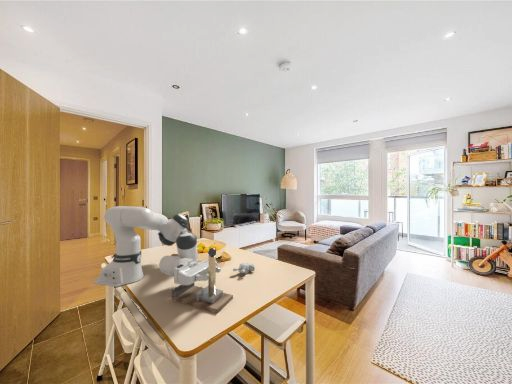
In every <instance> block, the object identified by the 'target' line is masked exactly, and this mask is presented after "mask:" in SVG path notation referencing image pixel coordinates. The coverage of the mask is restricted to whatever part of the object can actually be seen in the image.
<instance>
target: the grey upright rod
mask: <svg viewBox="0 0 512 384" xmlns="http://www.w3.org/2000/svg"><path fill="white" fill-rule="evenodd" d="M216 250H217V249H216V247H210V248H209V250H208V254H209V255H208V260H209V273H208V274H207V275H208V280H207V281H208V282H207V283H208V285H207V286H205V287H203V288H204V289H203V290H201V291H200V292H198V293H197V294H196V301H198V302H199V301H204V302H208V303H211V304H212V303H214V302H215V301H216V300H217V299H218V298H219V297H221V296H222V295H223V293H224V290H222V289H217V288H216V284H217V283H216V276H217V275H216V273H217V272H216V261H217V260H216V259H217V258H216V256H215V255H216Z"/></svg>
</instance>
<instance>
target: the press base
mask: <svg viewBox="0 0 512 384" xmlns="http://www.w3.org/2000/svg"><path fill="white" fill-rule="evenodd" d="M204 288H205V287H203V286H197V285H195V282H194V283H193V284H191V285H181V284H179V285H178V286H175V288H173V289H171V290H172V291H171V293H172V295H171V297H170V298H171V300H172V301H174V302H177V303H182V304H184V305H187V306H191V307H195V308H198V309H202V310H205V311H209V312H212V313H214V314H215V313H216V314H218V313H220V312H221V311H222V310H223V309H224V308H225V307H226V306H227V304H230V302H231V301H232V300H233V299H234V295H233V294H230V293H226V292H223V295H222V296H221V297H219V298H218V299H217V300H216V301H215V302H214V303H212V304H211V303H208V302H204V301H199V302H198V301H196V294H197V293H198V292H200V291H201V290H203V289H204Z"/></svg>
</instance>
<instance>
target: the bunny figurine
mask: <svg viewBox="0 0 512 384" xmlns="http://www.w3.org/2000/svg"><path fill="white" fill-rule="evenodd" d="M255 268H256V267H255V265H254V263H250V262H246V263H244V262H243V263H240V264H239V266H238V267H234V268H233V269H232V271H233V272H236V271H239V273H241V274H245V275H247V274H249V272H255Z"/></svg>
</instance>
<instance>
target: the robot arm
mask: <svg viewBox="0 0 512 384" xmlns="http://www.w3.org/2000/svg"><path fill="white" fill-rule="evenodd" d="M103 218H104V221H105V222H106V224H108V225H109V226H110V229H111V230H112V232H113V234H114V238H115V254H113V255H111V256H110V259H112V260H111V261H110V262H109V263H108V264H107V265H105V266H103V268H102V269H101V270H100V272H99V277H97V278H95V279H94V281H93V285H99V286H100V285H101V286H106V287H115V288H117V287H121V286H124V285H128V284H132V283H135V282H138V281H140V280H142V279H143V278H144V276H145V274H144V272H143V268H142V250H141V249H142V248H141V245H142V244H141V242H142V240H141V236H140V235H139V234H138V233H137V232H136V231H135V229H134V228H138V229H141V230H142V229H143V230H149V231H158V232H157V235H158V239H159V241H160V243H161V244H163V245H164V246H168V247H169V246H170V247H171V246H173V245H174V244H175V245H176V249H177V250H176V251H177V254H178V256H171V255H164V256H162V257H161V259H160V260H159V271H160V272H161V273H163V274H165V275H166V276H170V277H173V280H174V284H175V285H176V284H177V285H178V284H179V285H191V284H193V283H194V284H195V282H203V281H204V282H206V281H208V273H209V259H204V260H201V261H199V255H198V254H199V251H197V249H198V237H197V235H196V234H194V233H193V232H191V230H188V228H189V227H190V226H189V220H188V218H187V217H186V216H184V215H183V214H180V213H175V214H174V215H173V216H172V217H171V219H170V220H169V219H168V217H167V216H166V215H163V214H161V213H159V212H156V211H152V210H151V209H150V208H147V207H143V206H129V205H127V206H126V205H118V206H112V207H109V208H108V209H107V210H106V211H105V212H104V217H103ZM220 272H221V267H218V261H217V260H216V273H219V274H220Z"/></svg>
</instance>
